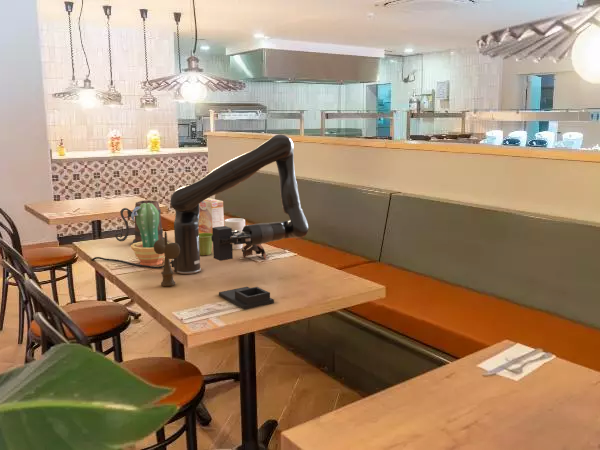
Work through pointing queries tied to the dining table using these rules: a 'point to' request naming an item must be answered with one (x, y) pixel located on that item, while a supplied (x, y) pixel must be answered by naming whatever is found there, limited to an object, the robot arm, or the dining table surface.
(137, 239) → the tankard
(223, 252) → the post
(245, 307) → the base pad
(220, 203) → the coffeecake box
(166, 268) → the kendama
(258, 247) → the brown curved piece
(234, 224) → the foam cup
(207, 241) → the plant pot
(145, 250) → the potted cactus
